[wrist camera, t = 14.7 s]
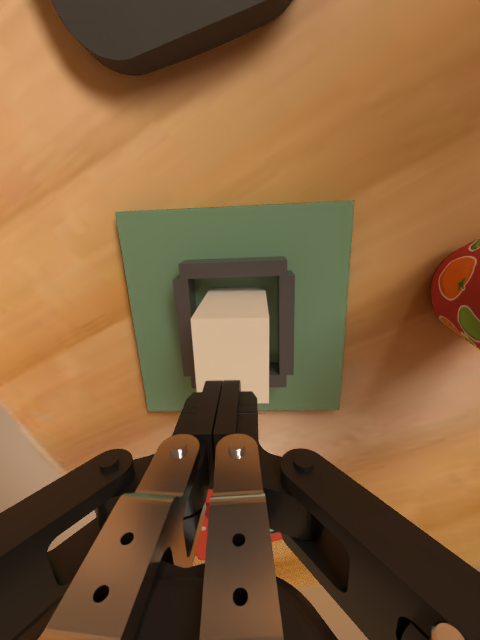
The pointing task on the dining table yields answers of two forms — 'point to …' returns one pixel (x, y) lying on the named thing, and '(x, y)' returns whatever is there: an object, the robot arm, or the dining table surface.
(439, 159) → the dining table surface
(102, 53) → the media streaming box
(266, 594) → the robot arm
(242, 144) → the dining table surface
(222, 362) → the plug
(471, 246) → the smoothie
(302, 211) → the green insertion board
